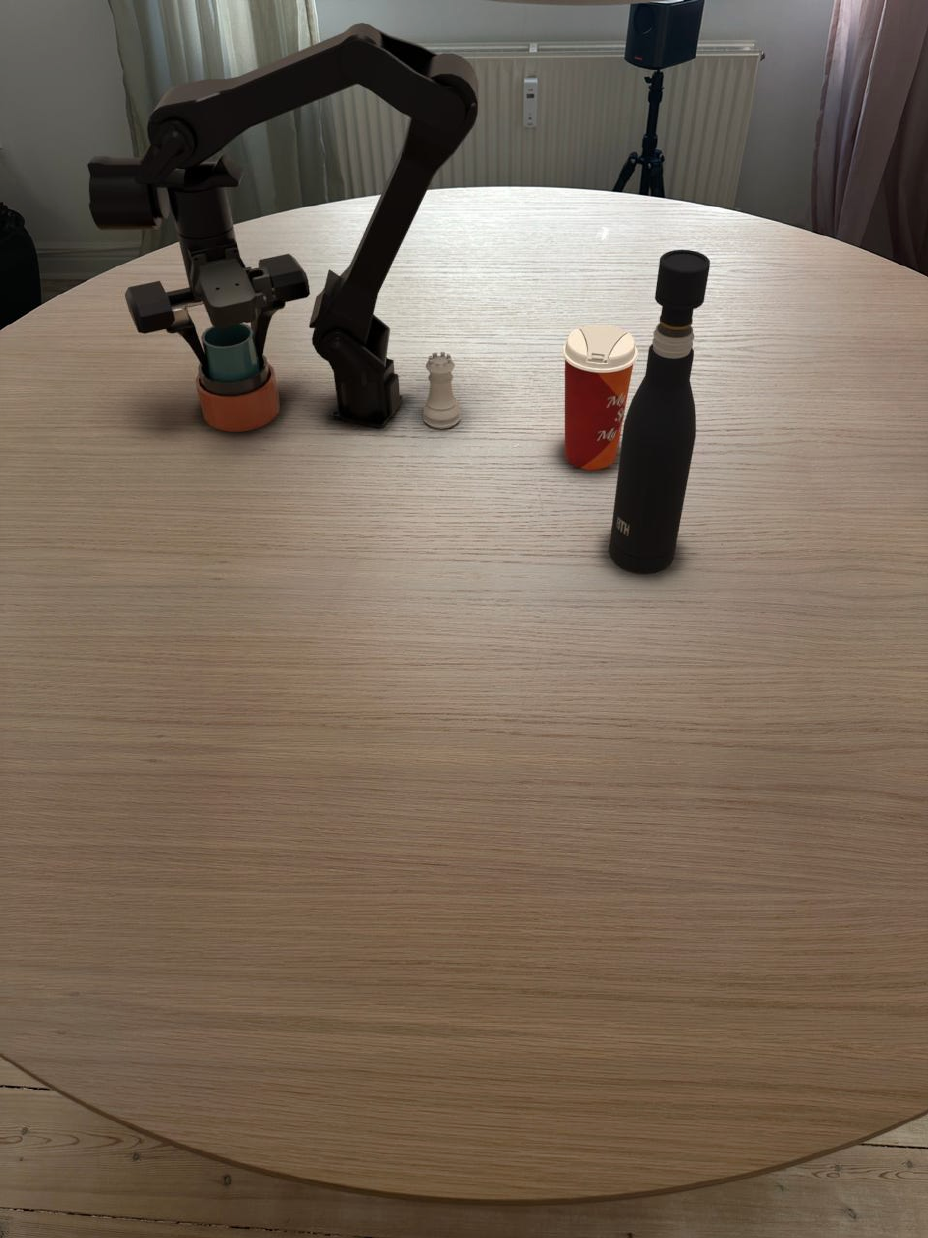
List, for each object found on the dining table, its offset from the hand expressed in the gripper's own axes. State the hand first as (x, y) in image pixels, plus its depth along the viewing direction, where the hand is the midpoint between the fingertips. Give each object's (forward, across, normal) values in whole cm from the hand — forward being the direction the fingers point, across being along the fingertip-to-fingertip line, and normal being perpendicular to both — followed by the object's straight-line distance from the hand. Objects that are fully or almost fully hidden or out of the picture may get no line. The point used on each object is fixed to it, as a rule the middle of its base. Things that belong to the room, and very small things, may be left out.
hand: (232, 362), depth 111 cm
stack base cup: (+6, 0, 0) cm, 6 cm away
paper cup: (+7, +32, -25) cm, 42 cm away
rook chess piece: (+6, +20, -12) cm, 25 cm away
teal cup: (+4, 0, 0) cm, 4 cm away
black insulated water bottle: (+7, +29, -42) cm, 51 cm away
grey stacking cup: (+6, 0, 0) cm, 6 cm away
